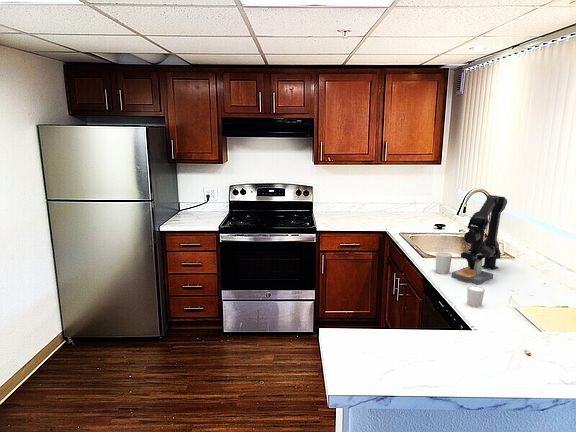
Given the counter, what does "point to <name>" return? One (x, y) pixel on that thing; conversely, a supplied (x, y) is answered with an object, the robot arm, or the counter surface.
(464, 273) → the shutter
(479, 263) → the plug
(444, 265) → the white cup
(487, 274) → the socket
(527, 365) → the counter surface
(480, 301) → the shot glass
